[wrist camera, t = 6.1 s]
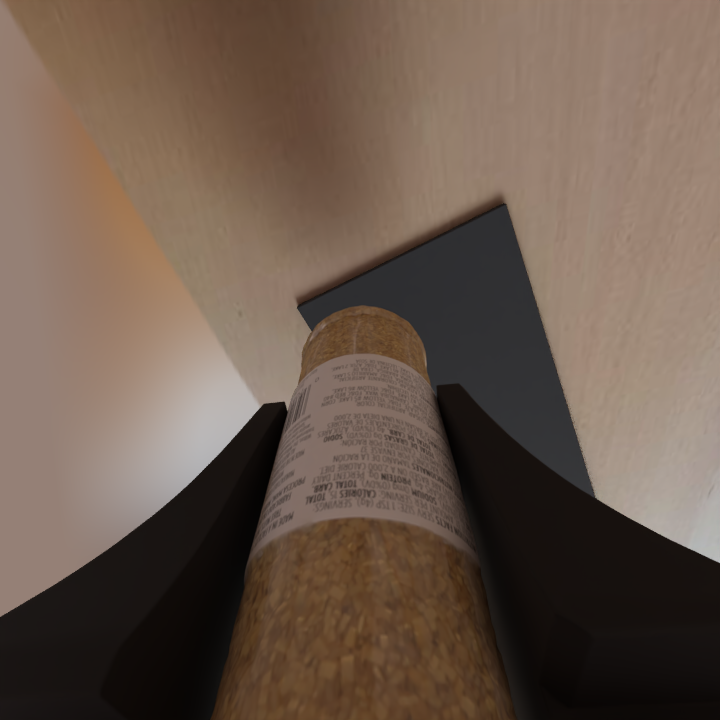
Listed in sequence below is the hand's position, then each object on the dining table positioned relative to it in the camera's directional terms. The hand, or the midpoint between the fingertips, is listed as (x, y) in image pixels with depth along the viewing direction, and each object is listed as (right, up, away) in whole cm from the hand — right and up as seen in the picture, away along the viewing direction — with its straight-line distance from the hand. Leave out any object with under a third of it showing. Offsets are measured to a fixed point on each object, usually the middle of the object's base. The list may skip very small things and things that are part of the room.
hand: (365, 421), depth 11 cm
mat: (+7, -4, +12) cm, 14 cm away
